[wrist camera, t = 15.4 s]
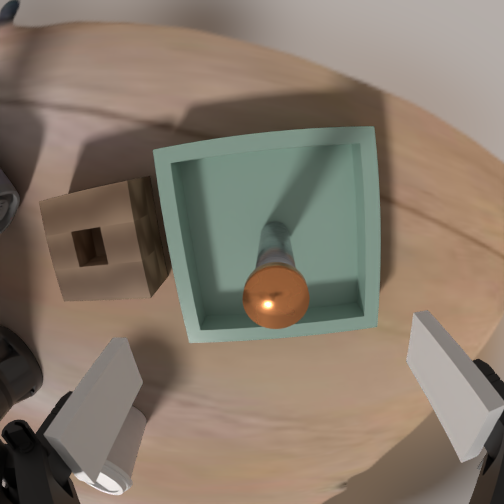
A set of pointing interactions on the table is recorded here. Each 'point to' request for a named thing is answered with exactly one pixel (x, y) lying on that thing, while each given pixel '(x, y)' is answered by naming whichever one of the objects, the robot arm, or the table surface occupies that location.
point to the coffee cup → (122, 455)
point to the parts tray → (268, 210)
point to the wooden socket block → (105, 242)
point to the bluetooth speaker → (7, 201)
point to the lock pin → (275, 282)
